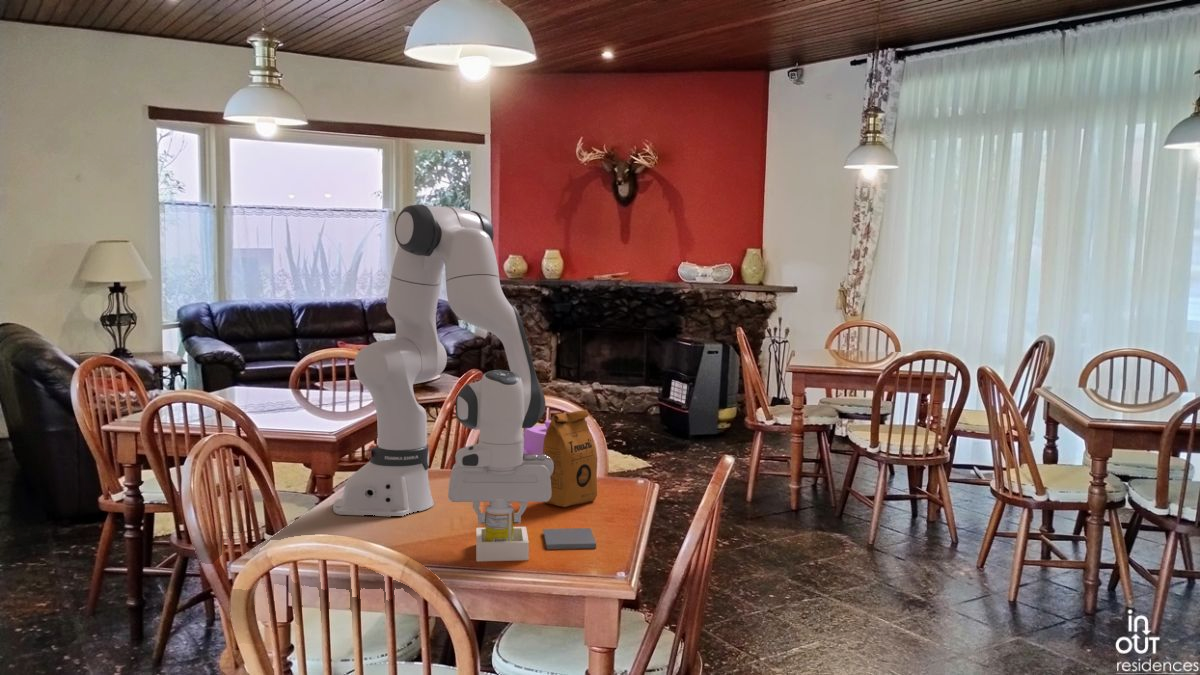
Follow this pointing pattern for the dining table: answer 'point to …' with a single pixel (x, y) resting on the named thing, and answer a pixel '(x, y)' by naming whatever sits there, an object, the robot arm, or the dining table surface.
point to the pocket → (503, 547)
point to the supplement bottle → (499, 521)
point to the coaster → (569, 538)
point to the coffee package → (571, 459)
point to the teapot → (535, 438)
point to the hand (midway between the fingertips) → (499, 522)
